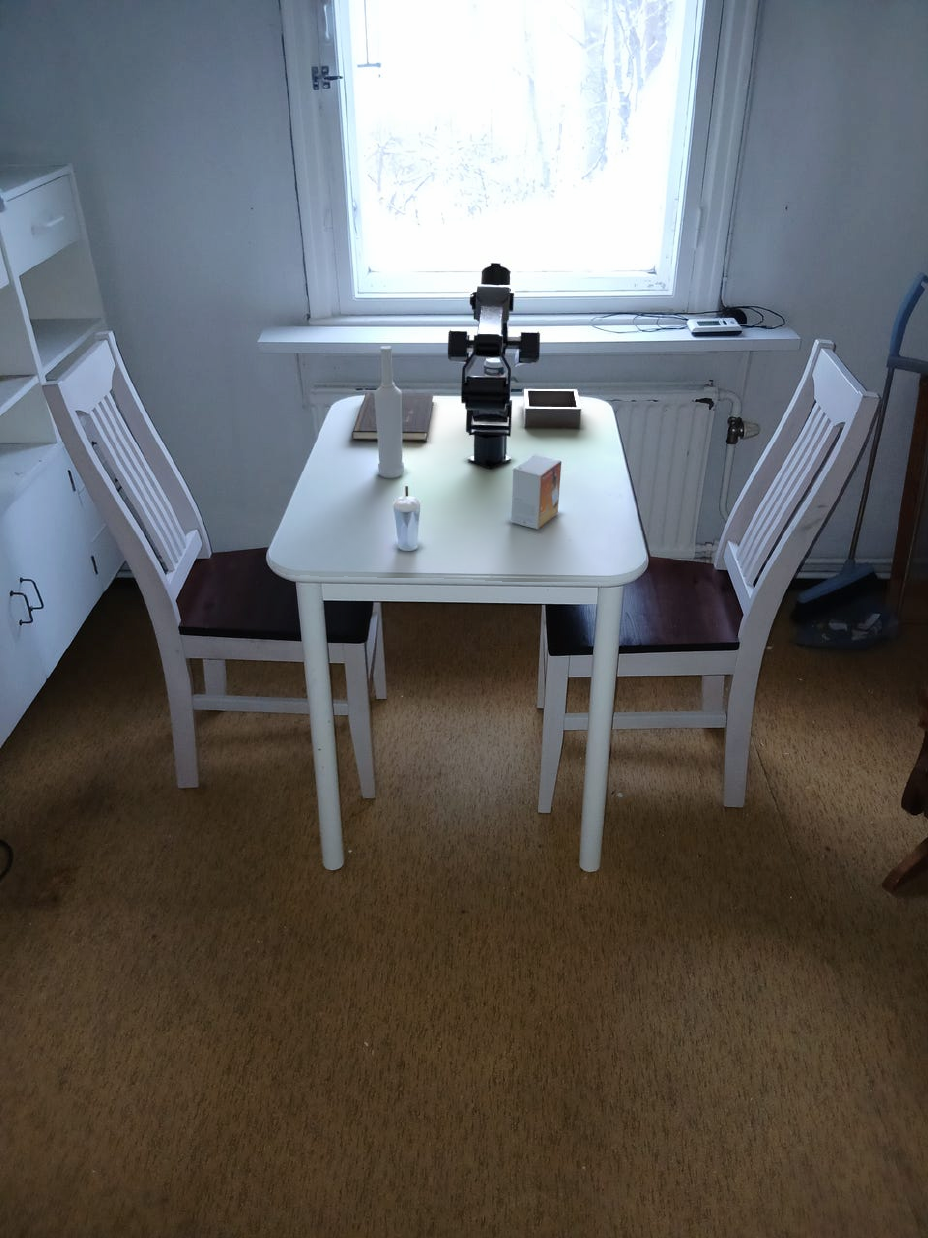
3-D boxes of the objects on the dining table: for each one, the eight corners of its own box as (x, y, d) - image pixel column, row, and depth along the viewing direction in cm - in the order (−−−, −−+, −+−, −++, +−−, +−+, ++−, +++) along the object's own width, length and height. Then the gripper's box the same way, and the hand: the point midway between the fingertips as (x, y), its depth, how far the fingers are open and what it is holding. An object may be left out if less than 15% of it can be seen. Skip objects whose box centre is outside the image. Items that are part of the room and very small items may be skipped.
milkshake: (421, 538, 160) (420, 485, 154) (421, 553, 155) (420, 499, 150) (395, 538, 159) (393, 485, 154) (394, 553, 155) (392, 500, 149)
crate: (579, 428, 202) (581, 408, 199) (524, 427, 202) (525, 408, 199) (575, 408, 212) (577, 389, 209) (523, 407, 212) (524, 388, 209)
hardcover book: (433, 403, 214) (433, 393, 213) (426, 441, 195) (426, 431, 194) (365, 402, 215) (364, 392, 213) (352, 440, 195) (351, 430, 194)
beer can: (478, 412, 210) (479, 360, 203) (491, 406, 213) (492, 354, 206) (496, 416, 207) (497, 364, 200) (508, 410, 210) (509, 358, 204)
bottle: (373, 475, 181) (366, 349, 167) (387, 465, 185) (381, 341, 171) (395, 480, 179) (390, 353, 165) (409, 470, 183) (405, 345, 169)
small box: (537, 530, 162) (540, 476, 156) (510, 522, 164) (512, 468, 159) (558, 513, 168) (562, 460, 162) (532, 506, 170) (534, 453, 164)
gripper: (542, 290, 182) (538, 330, 197) (448, 289, 182) (451, 328, 198) (540, 342, 180) (537, 378, 195) (445, 341, 180) (449, 376, 196)
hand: (493, 364), depth 196 cm, fingers open, 9 cm apart
